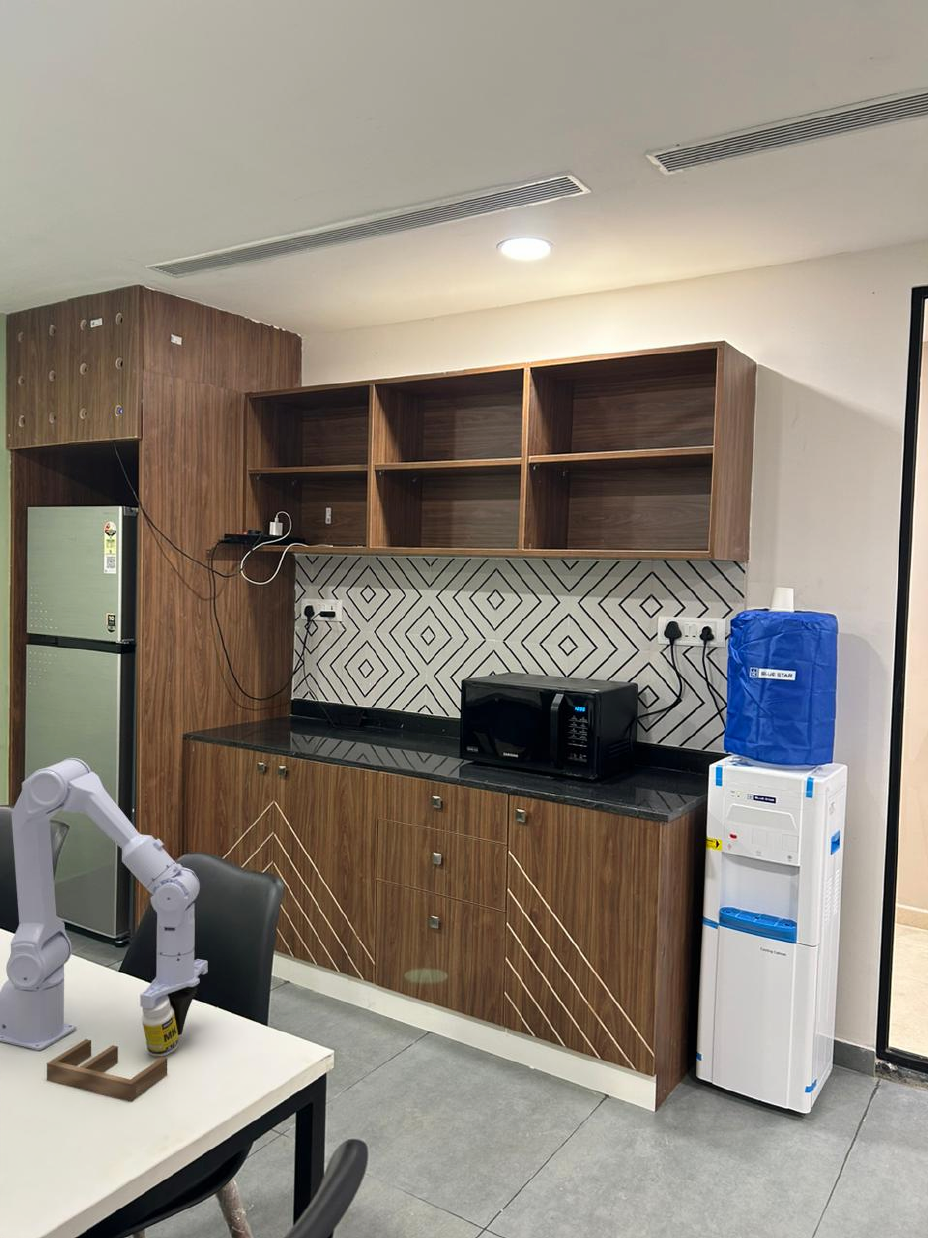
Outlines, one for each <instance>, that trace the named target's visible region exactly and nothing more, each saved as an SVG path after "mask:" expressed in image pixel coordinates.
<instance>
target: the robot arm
mask: <svg viewBox="0 0 928 1238" xmlns="http://www.w3.org/2000/svg"><path fill="white" fill-rule="evenodd" d="M102 783H103V782H102V781H101V779H100V776H99V775H98V774H96V773H95V772H94V771H91V768H90V766H89V765H88V764H87V763H86V762H85V761H84V760H82V759H80V758H75V757H68V758H66V759H64V760H62V761H60V762H58V763H55V764H53V765H50V766H47V767H44V768H39V769H37V770H36V771H34V772H33V773H32V774H31V775H30V776H29V777H27V778H26V779H25V780H24V781H23V782H22V783H21V792H20V794H19V797H18V798H17V801H16V803H15V804H14V807H13V808H12V812H11V825H12V827H11V828H12V840H13V843H12V844H13V854H14V855H13V856H14V867H15V869H14V870H15V881H16V882H15V883H16V884H15V885H16V894H17V896H16V897H17V908H18V923H19V924H18V927H17V929H16V931H15V933H14V936H13V938H12V940H11V942H10V956H9V958H8V960H7V962H6V968H5V969H6V976H7V978H8V979H7V980H6V981H5V983H4V984H3V985H2V986H1V989H0V1042H3V1043H7V1044H12V1045H16V1046H20V1047H24V1048H29V1049H32V1050H36V1051H42V1050H43V1049H45V1048H47V1047H48V1046H50V1045H52V1044H53V1043H55V1042H57V1041H58V1040H60V1039H62V1038H63V1037H65V1036H67V1035H68V1034H71V1033H72V1032H74V1031H75V1030H77V1026H76V1025H75V1024H69V1023H65V1020H64V1018H65V972H64V971H65V964H66V963H67V962H68V961H69V960H70V958H71V956H72V951H73V945H72V942H71V940H70V938H69V936H68V934H67V932H66V929H65V928H66V927H65V922H64V921H63V920H62V919H61V918H59V917H58V916H57V908H56V907H57V906H56V894H55V893H56V891H55V890H56V889H55V879H54V878H55V877H54V865H53V863H54V862H53V849H52V848H53V847H52V837H51V836H52V835H51V822H50V821H51V819H52V818H54V816H55V815H56V814H57V813H58V812H59V811H60V810H61V811H62V812H64V813H74V814H84V815H87V817H89V818H90V820H92V821H93V822H94V823H95V824H96V825H97V826H98V827H99V828H100V829H101V830H102V831H103V832H104V833H105V834H106V835H107V836H108V837H109V838H110V839H111V840H112V841H113V842H114V843H115V844H116V845H117V846H118V847H119V848H120V849H121V862H122V863H123V864H124V866H125V867H126V868H127V869H128V870H129V871H130V872H131V873H132V875H134V876H135V878H136V879H137V880H138V881H139V882H140V883H141V884H142V886H143V887H144V888H145V889H146V890H147V891H148V892H149V894H151V895H152V896H150V898H149V899H150V904H151V906H152V908H153V910H154V911H155V912H156V914H157V915H156V917H157V918H156V976H155V978H153V980H152V981H151V983H150V984H149V986H148V987H147V988H146V989H145V990H144V991H143V992H141V993H140V1000H139V1001H140V1002H139V1004H140V1007H145V1008H150V1009H151V1008H153V1007H154V1006H155V1003H156V1002H157V1001H159V1000H160V998H161V997H162V996H163V995H167V996H168V997H169V1001H170V1005H171V1006H172V1007H173V1010H174V1015H175V1021H176V1026H177V1032H178V1037H179V1036H181V1035H182V1034H183V1031H184V1027H185V1022H186V1020H187V1019H186V1018H187V1015H188V1012H189V1008H190V1006H191V1004H192V1002H193V1000H194V998H195V996H196V995H197V993H198V991H197V990H198V988H197V986H198V984H200V982H201V981H200V977H199V976H200V975H205V974H207V973H208V960H204V959H199V958H197V959H195V939H196V938H195V936H196V935H195V930H196V928H195V926H196V925H195V924H196V923H195V920H196V919H195V902H194V901H195V900H196V899H197V897H198V895H199V893H200V889H201V883H200V881H199V878H198V877H197V875H196V873H195V871H193V870H192V869H190V868H187V867H183V866H182V864H181V863H176V861H175V860H174V859H173V858H172V857H171V856H170V855H169V853H168V852H167V851H166V849H164V847H163V846H164V845H165V844H164V842H162V840H161V839H160V838H156V839H155V838H154V837H153V835H150V834H141V833H139V832H138V830H137V829H136V828H135V826H134V825H133V824H132V822H131V821H130V820H129V819H128V817H127V816H126V815H125V814H124V812H123V811H122V810H121V809H120V807H119V806H118V804H117V803H116V802H115V801H114V799H113V798H112V797H111V796H110V795H109V793H108V792H107V791H106V789H105V787H104V786H103V784H102Z"/></svg>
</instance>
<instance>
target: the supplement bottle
mask: <svg viewBox="0 0 928 1238" xmlns="http://www.w3.org/2000/svg"><path fill="white" fill-rule="evenodd" d="M141 1022H142V1027H143V1032H144V1035H145V1043H146V1048H147V1052H148V1053H149V1055H151V1056H153V1057H164V1056H167V1055H169V1054H171V1053H173V1052H174V1051H175V1050H176V1049H177V1047H178V1046H179V1043H180V1039H179V1038H180V1037H179V1036H178V1032H177V1026H176V1021H175V1015H174V1010H173V1007H172V1006H171V1005H170V1001H169V997H168V996H167V995H163V996H162V997H161V998H160V1000H159V1001H157V1002H156V1003H155V1006H154V1007H153V1008H151V1009H150V1008H145V1007H142V1017H141Z"/></svg>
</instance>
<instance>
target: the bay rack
mask: <svg viewBox="0 0 928 1238" xmlns="http://www.w3.org/2000/svg"><path fill="white" fill-rule="evenodd" d="M90 1057H92V1040H91V1039H87V1038H85V1039H84V1040H82V1041H80V1042H78V1043H77V1044H76V1045H73V1047H71V1048H69V1049H68V1050H66V1051H64V1052H63V1053H61V1054H60V1055H58V1056H56V1057H55V1058H53V1059H51V1060H50V1061H47V1063H46V1081H48V1082H52V1083H57V1084H61V1085H64V1086H69V1087H71V1088H72V1087H73V1088H77V1089H80V1090H84V1091H88V1092H92V1093H96V1094H100V1095H103V1096H108V1097H111V1098H114V1099H118V1098H119V1100H121V1101H122V1100H124V1101H127V1102H130V1103H132V1102H133V1101H134V1100H136V1099H137V1098H138V1097H140V1096H141V1095H142V1094H144V1093H145V1092H146V1091H148V1090H149V1089H150V1088H152V1087H153V1086H154V1085H156V1083H158V1082H159V1081H161V1080H162V1079H163V1078H165V1077H166V1076H168V1057H164V1056H160V1057H159V1058H158V1059H157V1060H155V1061H154V1062H153V1063H151V1064H150V1065H148V1066H147V1067H145V1068H144V1069H143V1070H141V1071H140V1072H138V1074H136V1075H135V1076H133V1077H131V1078H130V1079H129V1078H125V1077H123V1076H118V1075H114V1074H109V1073H106V1072H107V1071H108V1070H109V1069H111V1068H112V1067H113V1066H116V1064H118V1063H119V1061H118V1060H119V1046H117V1045H113V1044H112V1045H111V1046H109V1047H107V1048H106V1049H105V1050H103V1051H101V1052H100V1053H98V1054H97V1055H96V1056H93V1057H92V1058H91V1059H89V1058H90ZM87 1059H89V1060H88V1061H86V1060H87ZM84 1061H86V1062H85V1063H83V1062H84ZM81 1063H83V1064H82V1065H80V1064H81ZM79 1065H80V1066H79Z"/></svg>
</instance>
